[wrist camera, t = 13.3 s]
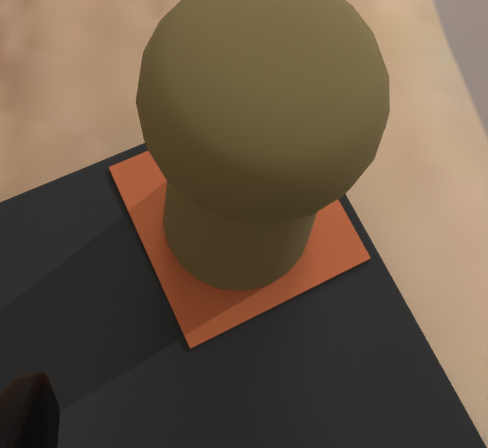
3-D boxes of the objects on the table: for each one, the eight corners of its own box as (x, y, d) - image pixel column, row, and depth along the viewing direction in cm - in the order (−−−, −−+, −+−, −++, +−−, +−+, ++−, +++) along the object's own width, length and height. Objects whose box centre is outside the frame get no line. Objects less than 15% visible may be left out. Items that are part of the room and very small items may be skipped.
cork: (131, 207, 19) (25, 27, 8) (244, 120, 20) (284, -136, 9) (229, 324, 18) (257, 297, 7) (341, 225, 19) (508, 76, 8)
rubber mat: (552, 581, 17) (572, 595, 16) (92, 899, 14) (83, 939, 13) (282, 93, 21) (285, 81, 20) (-117, 259, 18) (-136, 254, 17)
